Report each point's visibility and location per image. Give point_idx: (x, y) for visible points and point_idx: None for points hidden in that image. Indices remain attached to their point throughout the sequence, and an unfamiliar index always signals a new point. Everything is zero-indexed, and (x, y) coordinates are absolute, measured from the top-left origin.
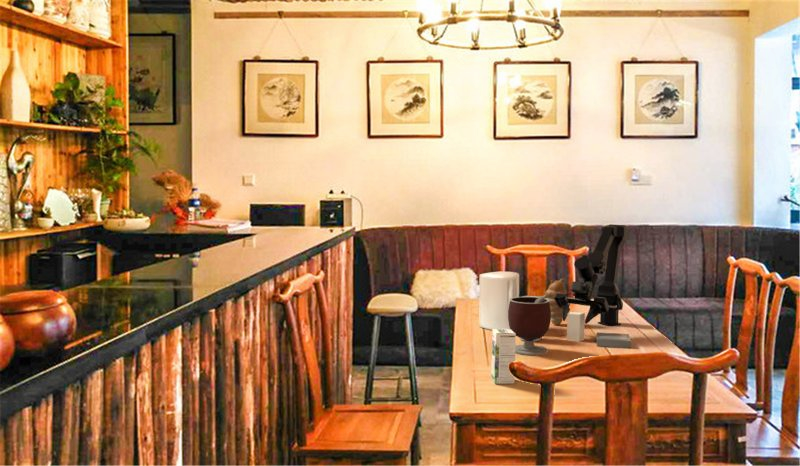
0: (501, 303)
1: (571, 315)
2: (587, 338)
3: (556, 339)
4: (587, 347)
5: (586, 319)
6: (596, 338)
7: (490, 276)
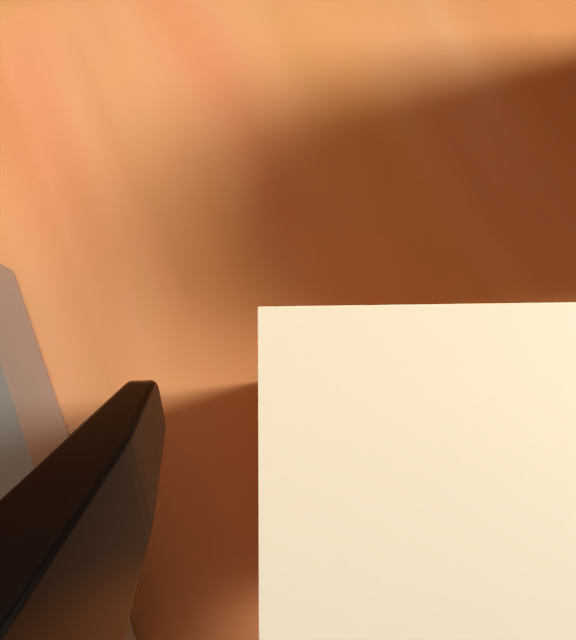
0: None
1: (516, 315)
2: None
3: None
4: (88, 168)
5: (106, 413)
6: None
7: None
